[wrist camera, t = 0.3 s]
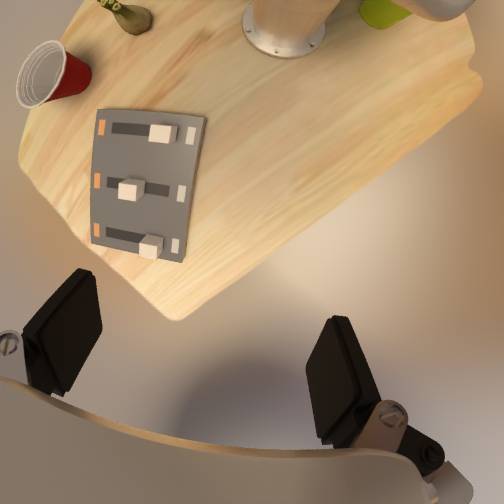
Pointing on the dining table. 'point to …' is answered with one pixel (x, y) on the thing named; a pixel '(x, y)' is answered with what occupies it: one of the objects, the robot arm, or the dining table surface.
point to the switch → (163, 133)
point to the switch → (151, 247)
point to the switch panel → (143, 168)
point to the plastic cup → (50, 75)
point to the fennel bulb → (129, 16)
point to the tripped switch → (131, 189)
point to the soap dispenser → (382, 13)
